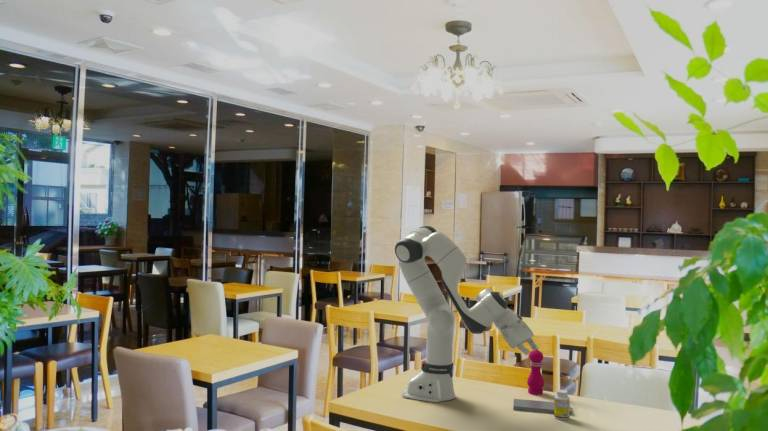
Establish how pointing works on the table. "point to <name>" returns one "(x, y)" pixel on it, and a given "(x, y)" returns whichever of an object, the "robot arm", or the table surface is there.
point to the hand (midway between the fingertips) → (532, 351)
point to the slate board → (535, 406)
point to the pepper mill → (535, 373)
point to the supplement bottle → (561, 405)
